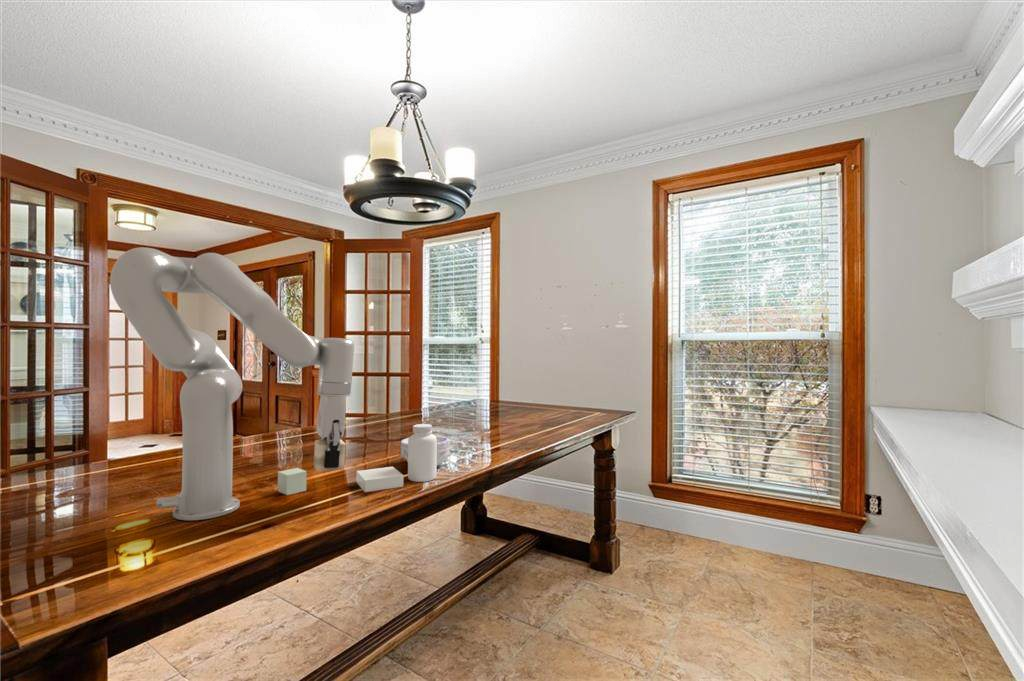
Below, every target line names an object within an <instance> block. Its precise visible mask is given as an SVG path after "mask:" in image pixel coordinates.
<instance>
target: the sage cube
mask: <svg viewBox="0 0 1024 681" xmlns="http://www.w3.org/2000/svg"><path fill="white" fill-rule="evenodd" d="M307 475H308V474H307V470H304V469H302V468H299V467H295V468H289V469H285V470H279V471H277V492H279V493H281V494H283V495H286V496H288V495H292V494H293V495H294V494H298V493H300V492H301V493H302V492H306V491H307Z"/></svg>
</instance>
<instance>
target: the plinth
mask: <svg viewBox="0 0 1024 681" xmlns="http://www.w3.org/2000/svg"><path fill="white" fill-rule="evenodd" d="M355 477H356V478H355V481H356V482H355V483H356V484H357V485H358V486H359V487H360V488H361V489H362V490H363V492H364V493H369V492H376V491H381V490H383V491H384V490H390V489H395V488H403V487H404V474H402V472H400V471H399V470H398V469H396V468H395V467H394V466H385V467H377V468H369V469H362V470H356V475H355Z"/></svg>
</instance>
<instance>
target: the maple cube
mask: <svg viewBox="0 0 1024 681" xmlns="http://www.w3.org/2000/svg"><path fill="white" fill-rule="evenodd" d="M331 441H333V440H330V442H331ZM346 449H347V444H346V442H345V441H343V439H341V438H340V456H339V466H338V467H337V468H325V467H324V459H325V451H327V440H321V439H316V440H315V442H314V453H313V464H312V466H313V467H314V468H315V470H316V472H324V471H338V470H340V471H341V470H342V471H343V470H345V461H346Z"/></svg>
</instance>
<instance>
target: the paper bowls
mask: <svg viewBox="0 0 1024 681" xmlns="http://www.w3.org/2000/svg"><path fill="white" fill-rule="evenodd" d="M435 436H436V439H437V467H438V466H440V465H441V464H443V461H444V460H445V458H447V457H449V456H450V448H451V447H450V445H451V441H450V438H448V437H446V436H442V435H441V436H439V435H435ZM408 440H409V437H406V438H404V439H402V440H401V441H400V457H401V458H403V459H406V462H407V463H408Z"/></svg>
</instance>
